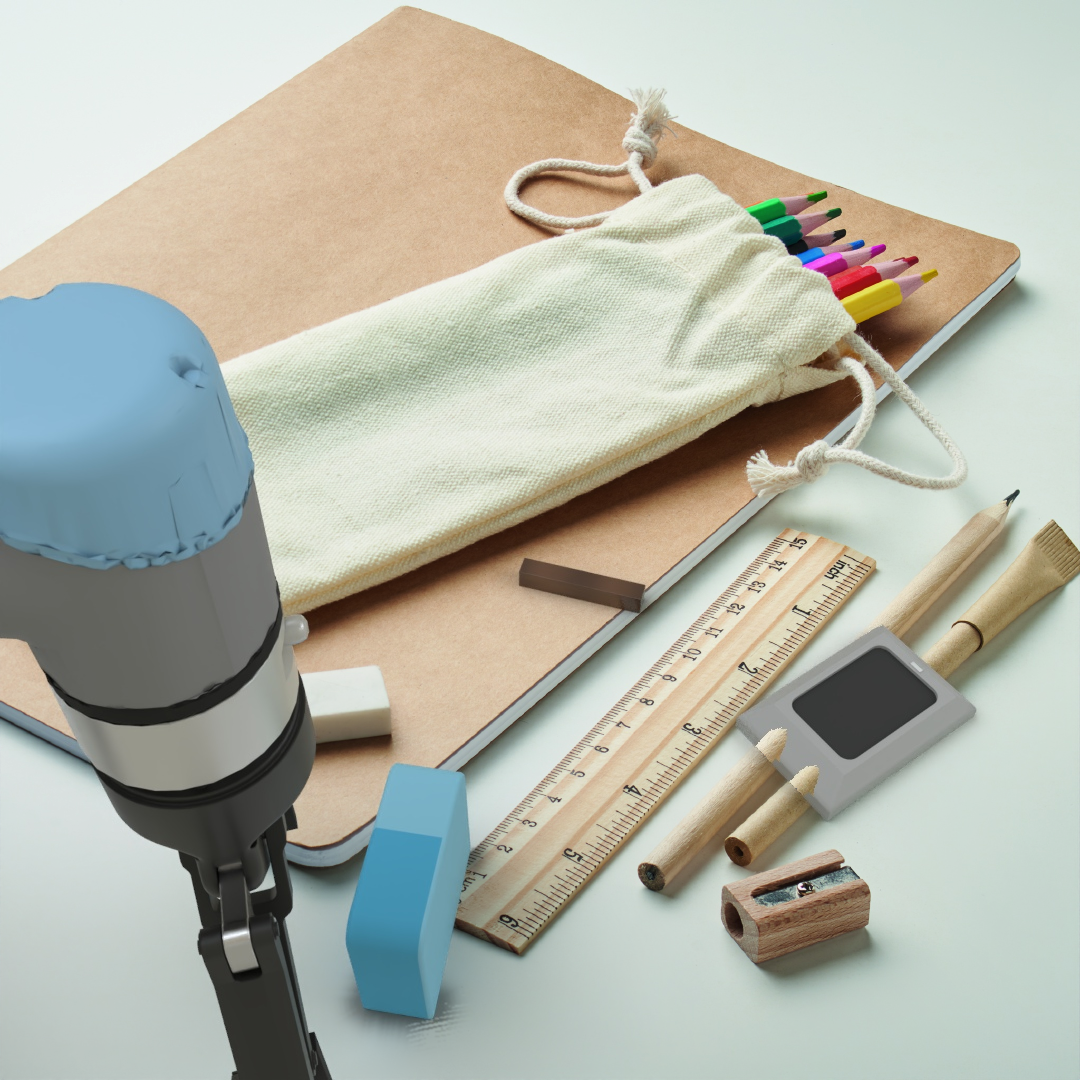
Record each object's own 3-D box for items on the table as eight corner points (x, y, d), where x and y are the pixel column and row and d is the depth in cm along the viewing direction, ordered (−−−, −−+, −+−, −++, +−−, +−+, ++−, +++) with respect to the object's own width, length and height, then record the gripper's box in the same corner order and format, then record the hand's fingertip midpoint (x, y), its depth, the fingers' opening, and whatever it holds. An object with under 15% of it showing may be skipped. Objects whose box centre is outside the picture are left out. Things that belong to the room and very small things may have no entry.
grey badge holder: (739, 707, 87) (886, 612, 93) (733, 734, 90) (876, 641, 96) (833, 804, 82) (982, 698, 88) (823, 830, 85) (968, 725, 90)
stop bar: (518, 595, 98) (518, 571, 96) (524, 581, 100) (524, 557, 97) (638, 623, 97) (641, 599, 94) (643, 608, 98) (645, 584, 95)
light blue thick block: (408, 843, 84) (393, 751, 75) (472, 853, 83) (465, 762, 74) (363, 1016, 76) (341, 936, 67) (434, 1028, 75) (421, 949, 66)
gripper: (358, 1034, 34) (412, 1217, 50) (264, 439, 50) (328, 721, 66) (83, 1105, 33) (229, 1269, 49) (77, 470, 49) (188, 750, 65)
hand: (286, 954), depth 57 cm, fingers open, 13 cm apart
